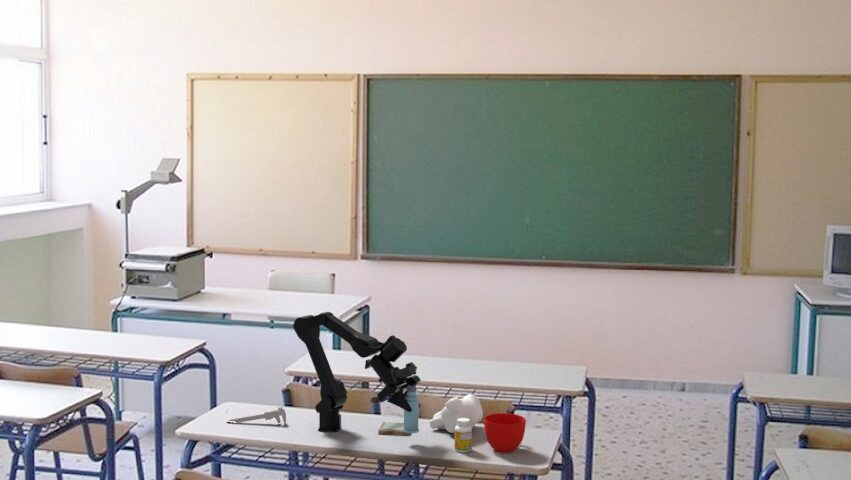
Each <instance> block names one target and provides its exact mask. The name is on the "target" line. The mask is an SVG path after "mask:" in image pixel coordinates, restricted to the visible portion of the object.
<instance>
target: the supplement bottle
mask: <svg viewBox="0 0 851 480" xmlns="http://www.w3.org/2000/svg"><path fill="white" fill-rule="evenodd" d="M457 424H458V425H457V426H456V427H455V433H454V446H453V447H454V451H456V453H457V452H458V453H469V452H471V451H472V448H473V446H472V445H473V432H472V431H473V428H472V427H471V426H469V425H470V419H468V418H459V419H457Z"/></svg>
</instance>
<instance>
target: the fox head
mask: <svg viewBox="0 0 851 480" xmlns="http://www.w3.org/2000/svg"><path fill="white" fill-rule="evenodd" d="M460 395H461V393H459V394H457V396H455V397H451V398H450V399H449V400H447V402H445V404H444V407H443V408H442V409H441V410H440V411H438V412H437V413H435V414H434V415H433V418H432V419H430V420H429V427H430V429H434V430H435V429H436V430H437V429H438V430H446V431H447V432H448V433H451V434H455V427H456V426H457V425H458V424H457V419H459V418H468V419H470V425H469V426H471V427H472V429H473V428H474V426H476V424H478V423H479V422H480V421H481V420H482V419H483V416H484V415H483V414H484V411H483V407H482V403H481V402H480V400H479V398H478V397H477V396H476V395H474V394H470V393H469V394H467V395H465V396H464V397H463V398H460Z"/></svg>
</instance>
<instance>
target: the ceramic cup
mask: <svg viewBox="0 0 851 480" xmlns="http://www.w3.org/2000/svg"><path fill="white" fill-rule="evenodd" d="M526 422H527V421H526V418H525V417H524V416H522V415H520V414H514V413H506V412H505V413H504V412H503V413H500V412H499V413H491V414H488V415H485V416H484V417H483V426H484V427H483V428H484V435H485V438H486V440H487V443H488V444H489V446H490V447H491V448H492V450H493V451H494V452H495V453H498V454H500V453H501V454H511V453H514V452H515V451H516V450H517V449H518V448H519V447H520V445H521V444H522V441H523V439H524V436H525V432H526V424H527V423H526Z"/></svg>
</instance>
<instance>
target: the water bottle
mask: <svg viewBox="0 0 851 480" xmlns="http://www.w3.org/2000/svg"><path fill="white" fill-rule="evenodd" d="M417 388H418V387H417V386H416V387H413V386H410V387H407V388H406V390H407V395H406V396H405V399H406V400H407V402H408V404H409V405H410V407H411V409H412V411H411V412H408V411H406V410H404V409H403V423H404V428H403V432H405V433H410V434H416V433H419V432H420V428H419V410H420V408H419V405H420V402H419V399H418V395H417V390H418V389H417Z"/></svg>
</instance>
